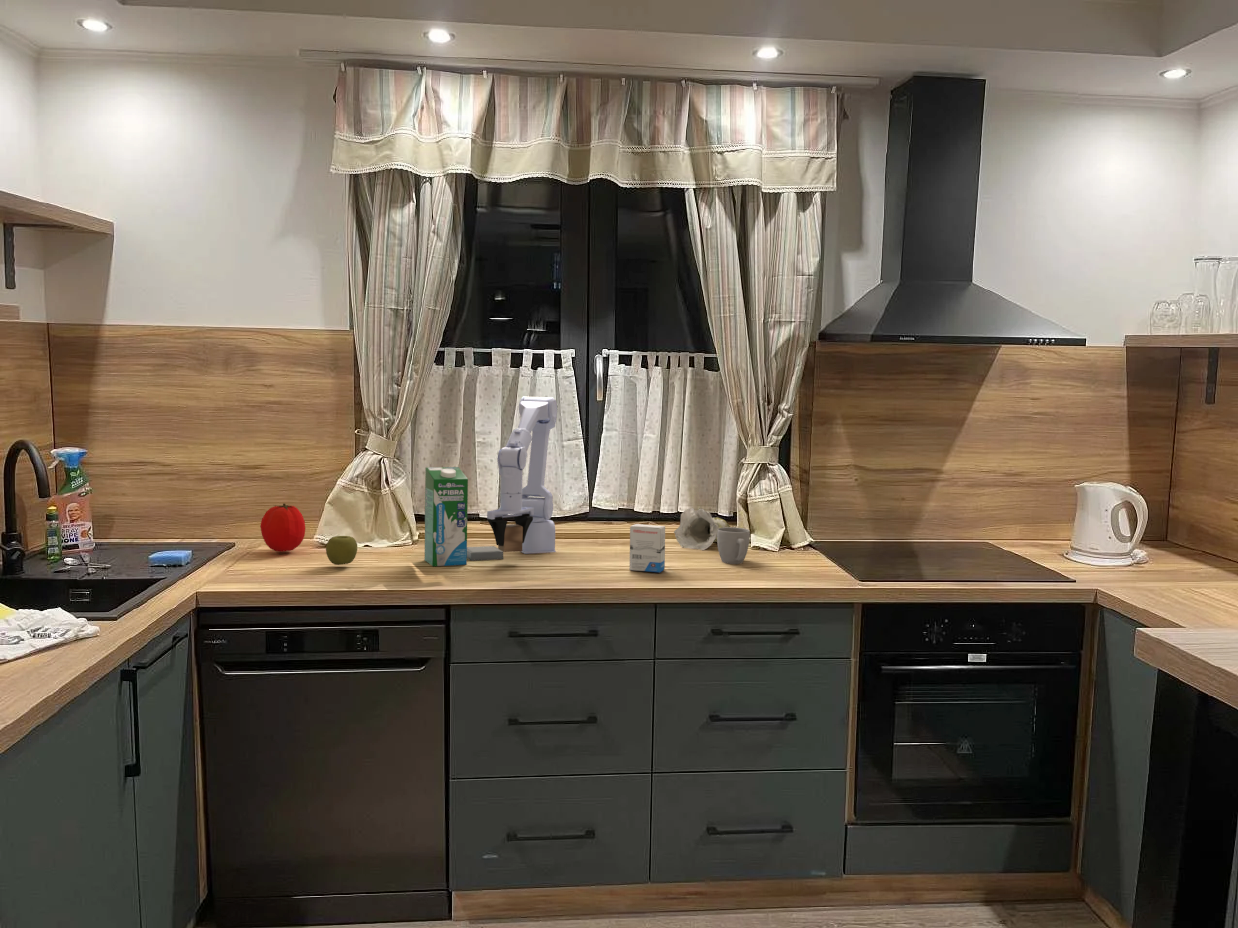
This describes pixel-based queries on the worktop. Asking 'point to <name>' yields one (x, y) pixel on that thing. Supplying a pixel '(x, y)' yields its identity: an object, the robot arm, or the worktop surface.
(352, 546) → the apple
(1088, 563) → the worktop surface
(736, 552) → the mug
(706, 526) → the wavy rim vase
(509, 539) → the walnut block
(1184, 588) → the worktop surface
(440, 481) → the milk carton
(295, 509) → the tomato
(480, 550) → the coaster block
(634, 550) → the ink box
